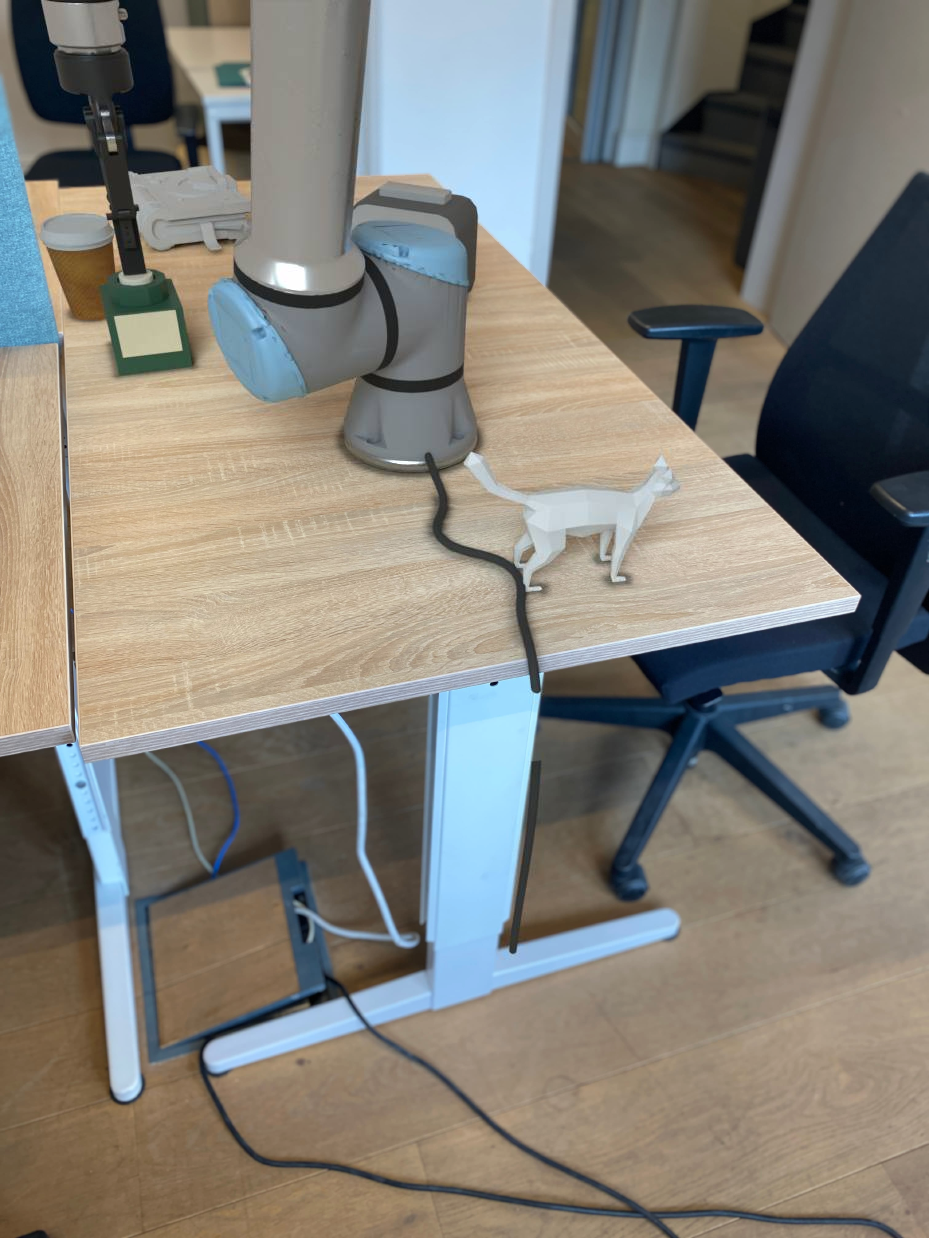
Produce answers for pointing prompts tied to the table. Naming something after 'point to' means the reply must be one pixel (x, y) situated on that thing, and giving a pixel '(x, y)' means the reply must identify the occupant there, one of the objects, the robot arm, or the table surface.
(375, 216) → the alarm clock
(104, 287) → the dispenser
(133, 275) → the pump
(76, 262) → the disposable coffee cup
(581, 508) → the cat figurine
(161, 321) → the bottle label
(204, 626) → the table surface
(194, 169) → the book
